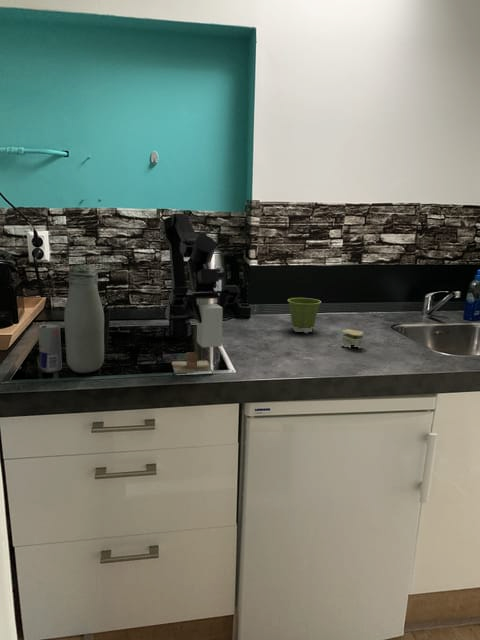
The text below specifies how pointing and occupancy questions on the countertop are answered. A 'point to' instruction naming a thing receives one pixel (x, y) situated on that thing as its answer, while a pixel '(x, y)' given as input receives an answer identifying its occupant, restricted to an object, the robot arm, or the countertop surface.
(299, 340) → the countertop surface
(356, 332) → the stacked layers on plate
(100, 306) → the glass bottle
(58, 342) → the energy drink
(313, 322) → the plant pot
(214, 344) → the tall pale rectangular prism
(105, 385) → the countertop surface
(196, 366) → the beige board with block
